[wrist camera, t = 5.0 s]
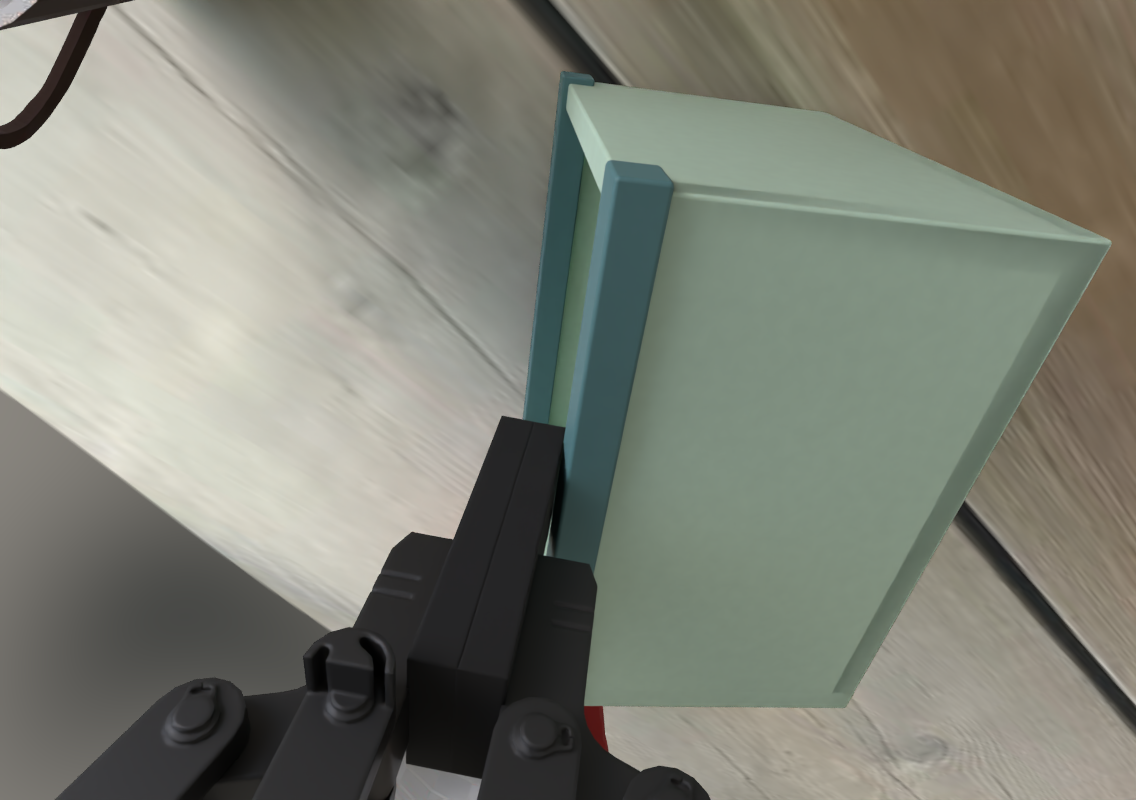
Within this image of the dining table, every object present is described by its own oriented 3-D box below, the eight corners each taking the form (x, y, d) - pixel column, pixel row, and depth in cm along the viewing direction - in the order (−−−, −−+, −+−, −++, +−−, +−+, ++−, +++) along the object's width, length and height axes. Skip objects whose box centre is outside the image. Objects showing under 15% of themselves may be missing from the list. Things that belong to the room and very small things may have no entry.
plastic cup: (596, 484, 32) (563, 707, 22) (663, 633, 37) (661, 873, 27) (404, 528, 36) (299, 742, 25) (489, 660, 40) (429, 885, 30)
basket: (560, 70, 22) (615, 176, 11) (828, 106, 23) (1130, 234, 12) (520, 433, 29) (528, 717, 18) (723, 446, 30) (846, 719, 19)
